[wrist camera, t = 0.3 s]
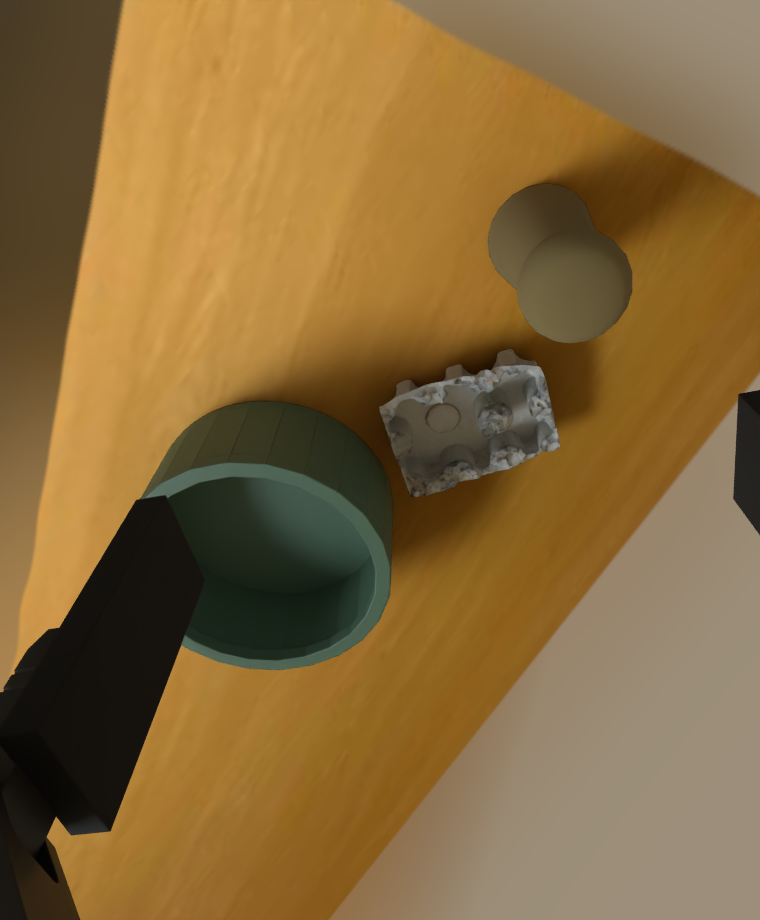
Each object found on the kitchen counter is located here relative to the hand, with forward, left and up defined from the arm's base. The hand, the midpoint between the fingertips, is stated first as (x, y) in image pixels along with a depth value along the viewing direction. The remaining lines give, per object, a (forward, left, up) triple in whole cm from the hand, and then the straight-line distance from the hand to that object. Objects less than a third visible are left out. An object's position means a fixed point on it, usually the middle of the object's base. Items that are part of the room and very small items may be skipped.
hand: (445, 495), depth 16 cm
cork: (+2, +7, -28) cm, 29 cm away
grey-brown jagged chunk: (+12, +1, -28) cm, 31 cm away
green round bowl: (+17, -14, -28) cm, 36 cm away
